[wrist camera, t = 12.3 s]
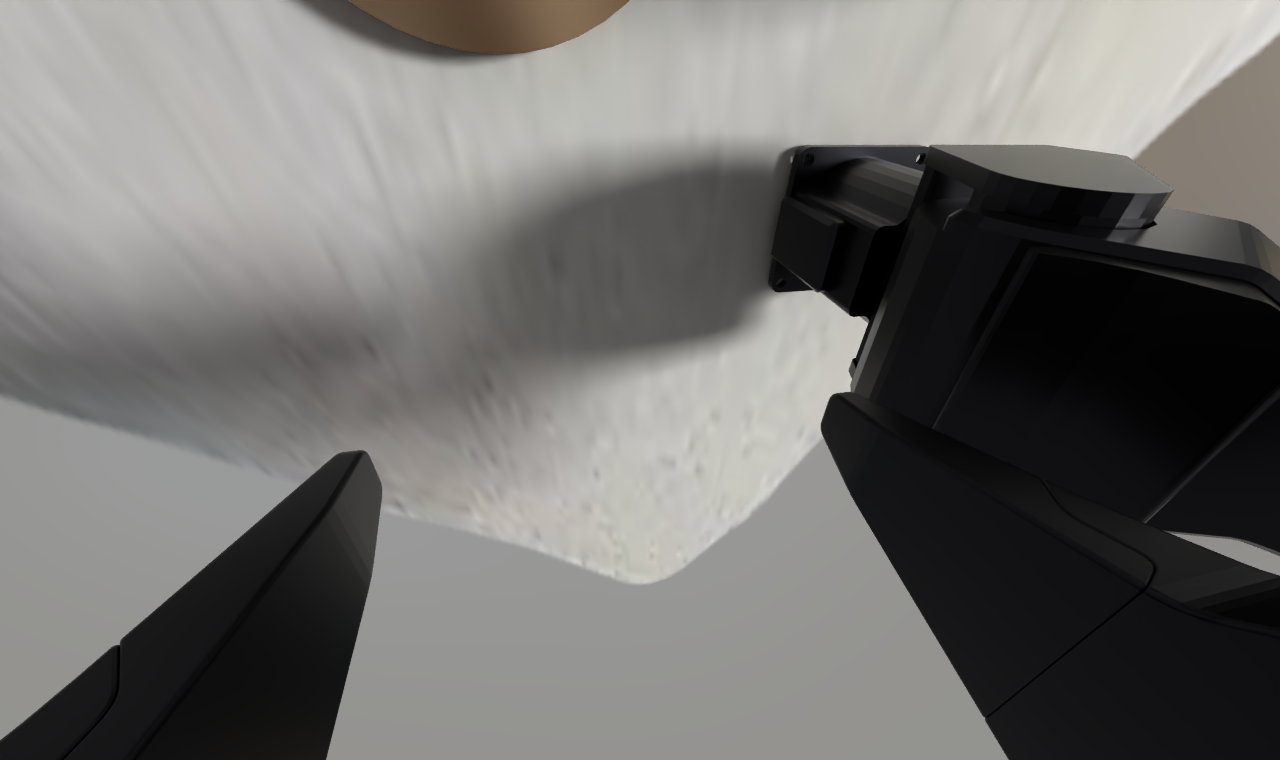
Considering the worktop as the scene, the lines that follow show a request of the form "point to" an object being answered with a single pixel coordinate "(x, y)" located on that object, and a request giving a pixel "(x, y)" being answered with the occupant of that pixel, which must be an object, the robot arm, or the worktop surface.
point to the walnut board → (492, 21)
